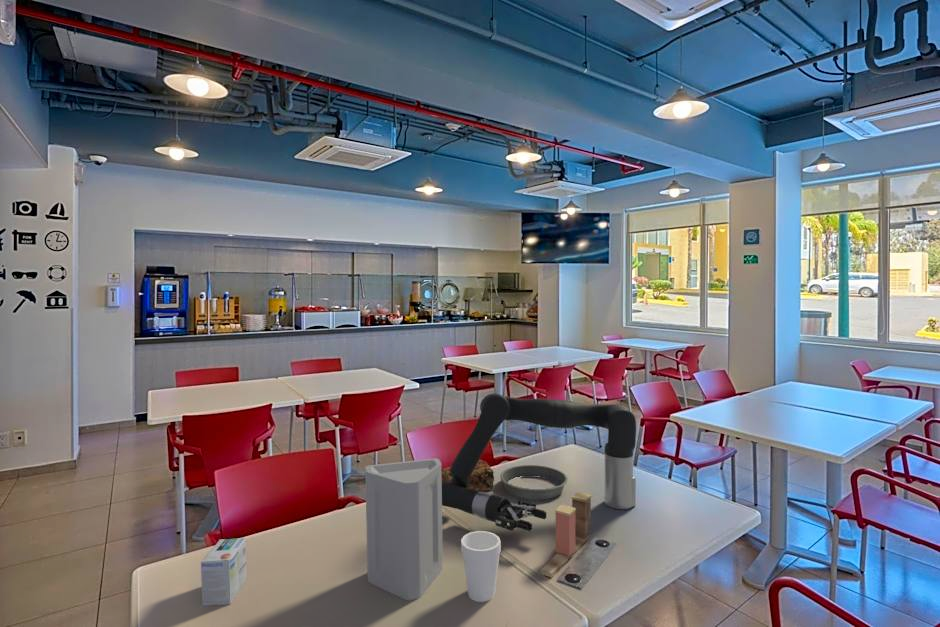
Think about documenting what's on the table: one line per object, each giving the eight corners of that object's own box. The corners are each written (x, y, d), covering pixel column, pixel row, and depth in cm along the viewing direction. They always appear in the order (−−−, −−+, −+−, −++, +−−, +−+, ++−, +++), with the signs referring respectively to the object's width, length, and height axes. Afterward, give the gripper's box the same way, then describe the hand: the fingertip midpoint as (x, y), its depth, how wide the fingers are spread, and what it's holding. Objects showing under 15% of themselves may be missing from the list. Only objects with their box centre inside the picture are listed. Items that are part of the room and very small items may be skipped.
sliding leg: (561, 545, 136) (561, 504, 136) (575, 549, 134) (575, 508, 134) (555, 551, 133) (555, 510, 133) (569, 556, 131) (569, 513, 130)
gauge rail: (577, 533, 146) (577, 491, 145) (591, 537, 143) (591, 494, 143) (538, 573, 125) (538, 524, 125) (553, 579, 123) (553, 529, 122)
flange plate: (594, 538, 143) (594, 536, 143) (616, 545, 139) (616, 543, 139) (557, 580, 122) (557, 578, 122) (581, 589, 119) (581, 586, 119)
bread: (479, 481, 187) (479, 455, 186) (495, 491, 178) (495, 464, 177) (436, 492, 177) (435, 465, 177) (450, 503, 168) (450, 474, 168)
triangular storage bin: (372, 607, 113) (370, 487, 111) (367, 572, 127) (365, 465, 126) (452, 592, 118) (451, 478, 117) (439, 560, 132) (437, 457, 131)
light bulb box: (220, 580, 124) (219, 538, 124) (248, 578, 125) (246, 536, 124) (201, 607, 113) (199, 561, 113) (231, 605, 114) (229, 559, 114)
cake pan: (573, 502, 168) (573, 489, 168) (502, 502, 168) (502, 489, 168) (561, 475, 193) (561, 464, 192) (498, 475, 193) (498, 464, 193)
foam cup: (501, 583, 121) (501, 531, 121) (500, 607, 112) (499, 551, 112) (463, 581, 122) (463, 530, 122) (459, 605, 113) (458, 550, 113)
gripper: (477, 503, 142) (526, 517, 132) (503, 487, 153) (550, 499, 144) (477, 528, 142) (526, 545, 132) (503, 510, 153) (550, 524, 144)
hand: (538, 521), depth 138 cm, fingers open, 8 cm apart
